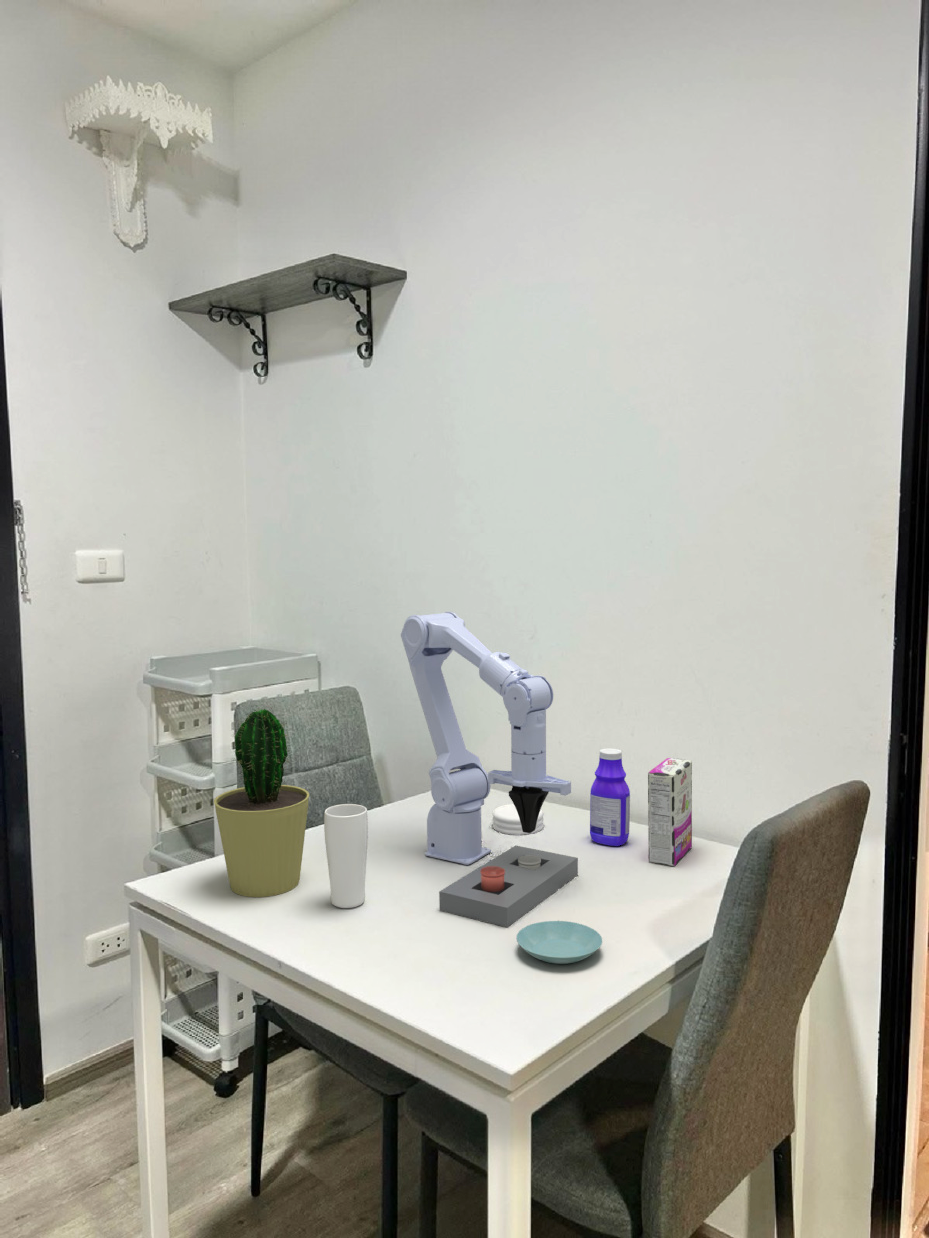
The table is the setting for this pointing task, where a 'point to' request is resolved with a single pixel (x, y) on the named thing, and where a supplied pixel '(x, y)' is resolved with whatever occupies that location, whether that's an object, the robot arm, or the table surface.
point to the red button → (492, 878)
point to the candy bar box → (670, 811)
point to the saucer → (559, 941)
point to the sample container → (529, 862)
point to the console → (509, 887)
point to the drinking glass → (346, 853)
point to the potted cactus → (262, 813)
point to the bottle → (610, 800)
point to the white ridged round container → (512, 821)
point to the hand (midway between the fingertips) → (529, 830)
